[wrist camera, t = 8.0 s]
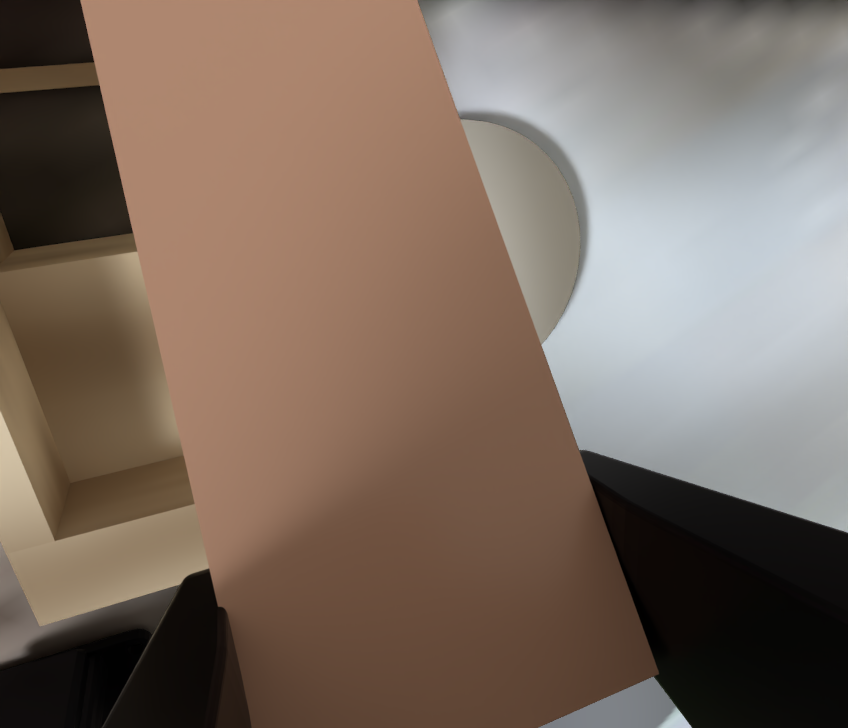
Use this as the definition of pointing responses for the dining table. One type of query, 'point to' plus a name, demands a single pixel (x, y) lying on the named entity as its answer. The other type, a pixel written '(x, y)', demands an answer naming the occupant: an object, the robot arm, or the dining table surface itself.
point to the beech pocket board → (86, 420)
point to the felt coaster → (530, 217)
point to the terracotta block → (356, 373)
